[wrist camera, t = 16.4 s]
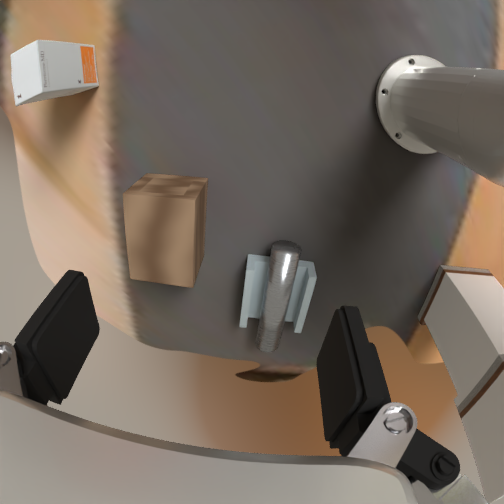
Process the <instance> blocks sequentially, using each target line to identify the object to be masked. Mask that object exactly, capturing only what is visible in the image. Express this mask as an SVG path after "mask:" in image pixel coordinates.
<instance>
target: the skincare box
mask: <svg viewBox="0 0 504 504" xmlns="http://www.w3.org/2000/svg"><path fill="white" fill-rule="evenodd" d="M11 68H12V74H11V77H12V85H13V90H14V97H15V105H16V106H19V105H23V104H27V103H32V102H37V101H41V100H47V99H52V98H57V97H63V96H69V95H74V94H77V93H80V92H83V91H86V90H89V89H92V88H95V87H98V86H99V83H98V77H97V69H96V58H95V46H94V45H87V44H79V43H70V42H60V41H48V40H36V41H34V42H32V43H30V44H29V45H27V46H25V47H23V48H21V49H19V50H18V51H16V52H14V53H13V54H11Z"/></svg>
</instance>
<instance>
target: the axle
mask: <svg viewBox="0 0 504 504" xmlns="http://www.w3.org/2000/svg"><path fill="white" fill-rule="evenodd" d="M300 254H301V247H300V246H299V245H297V244H296V243H294V242H291V241H286V240H279V241H276V242H274V243H273V244H272V249H271V255H270V261H269V267H268V273H267V279H266V284H265V290H264V296H263V302H262V307H261V313H260V319H259V324H258V330H257V336H256V341H255V344H256V347H257V348H258V349H259V350H261V351H263V352H273V351H275V350H277V348H278V346H279V342H280V338H281V334H282V330H283V326H284V322H285V318H286V314H287V310H288V306H289V302H290V298H291V294H292V289H293V285H294V281H295V277H296V272H297V268H298V263H299V259H300Z"/></svg>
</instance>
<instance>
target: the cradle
mask: <svg viewBox="0 0 504 504" xmlns="http://www.w3.org/2000/svg"><path fill="white" fill-rule="evenodd" d="M269 261H270V257H268V256H260V255H251V254H248V260H247V268H246V276H245V284H244V292H243V300H242V308H241V317H240V326H239V327H245V328H246V327H247V320H248V317H251V318H260V313H261V307H262V302H263V296H264V290H265V284H266V279H267V273H268V267H269ZM316 279H317V276H316V272H315V267H314V262H310V261H302V260H299V263H298V268H297V272H296V277H295V281H294V285H293V289H292V294H291V298H290V302H289V306H288V310H287V314H286V318H285V321H290V322H293V324H294V333H301V331H302V328H303V324H304V321H305V318H306V314H307V311H308V307H309V304H310V301H311V297H312V294H313V290H314V286H315V283H316Z"/></svg>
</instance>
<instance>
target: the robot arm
mask: <svg viewBox="0 0 504 504" xmlns="http://www.w3.org/2000/svg"><path fill="white" fill-rule="evenodd" d="M408 60H409V61H410V64H409V62H408ZM382 90H384V94H382ZM376 108H377V113H378V116H379V119H380V122H381V124H382V126H383V128H384V130H385V131H386V132H387V134H388V135H389V136H390V138H392V139H393V140H394V141H395V142H396V143H397V144H398V145H400V146H402V147H403V148H405V149H407V150H409V151H411V152H415V153H418V154H432V153H436V152H440V153H442V154H444V155H446V156H448V157H449V158H451V159H453V160H455V161H457V162H459V163H460V164H462V165H464V166H466V167H467V168H469V169H471V170H473V171H474V172H476V173H478V174H479V175H481V176H483V177H485V178H486V179H488V180H489V181H491V182H493V183H495V184H497V185H500V186H503V187H504V70H498V69H485V68H466V67H446V66H444V65H443V64H442V63H440V62H439V61H437V60H435V59H433V58H431V57H427V56H424V55H409V56H405V57H401V58H399V59H397V60H395V61H394V62H392V63H391V64H390V65H389V66H388V67H387V68H386V69H385V71H384V72H383V73H382V75H381V77H380V80H379V82H378V85H377V90H376ZM396 133H397V136H395V135H396ZM98 335H99V323H98V320H97V316H96V312H95V308H94V304H93V300H92V296H91V292H90V288H89V283H88V279H87V277H86V276H84V274H83V272H80V271H74V270H68V271H67V272H66V273H65V275H64V276H63V277H62V278H61V279H60V281H59V282H58V283H57V284H56V286H55V287H54V288H53V289H52V290H51V292H50V293H49V294H48V296H47V297H46V298H45V299H44V301H43V302H42V303H41V305H40V306H39V307H38V308H37V310H36V311H35V312H34V314H33V315H32V316H31V318H30V319H29V321H28V322H27V323H26V325H25V326H24V328H23V329H22V330H21V332H20V333H19V335H18V336H17V337H16V339H15V342H16V343H15V344H14V346H13V345H12V344H10V343H8V342H0V504H489V503H488V501H487V500H486V499H485V498H484V497H483V495H482V494H481V493H480V492H479V491H478V489H477V488H476V487H475V486H474V485H473V484H472V482H471V481H470V480H469V479H468V477H467V476H466V475H463V476H461V475H460V473H459V472H460V464H459V460H458V458H457V457H456V455H455V454H453V453H452V452H451V451H449V450H448V449H446V448H445V447H443V446H442V445H440V444H439V443H437V442H435V441H434V440H433V439H431V438H430V437H428V436H427V435H425V434H424V433H422V432H421V431H419V430H418V429H416V427H417V418H416V416H415V414H414V412H413V411H412V410H411V409H410V408H409V407H408V406H406V405H404V404H402V403H397V402H393V403H392V402H391V398H390V395H389V391H388V387H387V384H386V381H385V377H384V374H383V370H382V367H381V363H380V360H379V357H378V353H377V350H376V347H375V345H374V344H373V343H369V341H368V338H367V334H366V332H365V328H364V325H363V322H362V319H361V315H360V312H359V309H358V308H357V307H353V306H341V308H340V309H336V310H335V313H334V315H333V318H332V321H331V324H330V326H329V329H328V332H327V334H326V337H325V340H324V342H323V345H322V347H321V350H320V353H319V355H318V358H317V372H318V380H319V389H320V397H321V405H322V406H321V407H322V416H323V426H324V435H325V440H326V441H330V448H339V452H340V454H341V455H342V456H298V455H276V454H258V453H246V452H236V451H227V450H218V449H211V448H204V447H197V446H191V445H185V444H180V443H174V442H169V441H164V440H159V439H154V438H150V437H146V436H142V435H137V434H133V433H129V432H125V431H122V430H118V429H114V428H111V427H107V426H104V425H101V424H97V423H94V422H91V421H88V420H85V419H82V418H79V417H76V416H73V415H70V414H67V413H65V412H62V411H59V410H56V409H54V408H51V407H48V406H47V403H48V401H49V400H50V401H52V402H54V403H57V404H61V403H62V400H63V399H66V398H67V396H68V394H69V392H70V390H71V388H72V386H73V384H74V382H75V380H76V378H77V375H78V374H79V372H80V370H81V368H82V366H83V364H84V362H85V360H86V358H87V356H88V354H89V352H90V350H91V348H92V346H93V344H94V342H95V340H96V339H97V337H98Z"/></svg>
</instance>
